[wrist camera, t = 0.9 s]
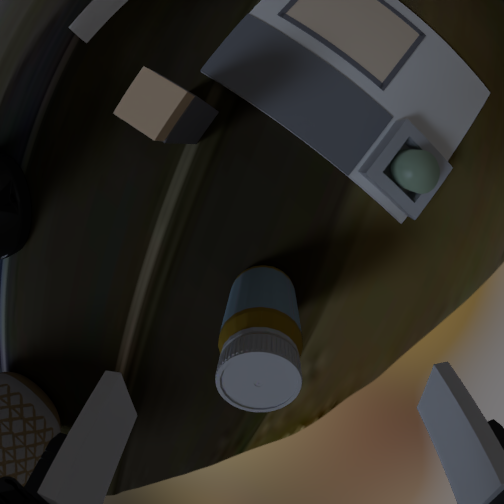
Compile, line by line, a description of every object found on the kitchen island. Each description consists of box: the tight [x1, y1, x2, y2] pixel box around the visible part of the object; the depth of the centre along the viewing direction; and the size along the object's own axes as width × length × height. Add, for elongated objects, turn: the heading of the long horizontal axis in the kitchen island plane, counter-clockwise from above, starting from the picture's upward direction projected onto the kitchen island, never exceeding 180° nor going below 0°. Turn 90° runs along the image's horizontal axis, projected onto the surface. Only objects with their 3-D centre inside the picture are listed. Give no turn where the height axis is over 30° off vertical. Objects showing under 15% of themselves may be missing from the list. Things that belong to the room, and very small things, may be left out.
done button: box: [390, 149, 440, 194], centre depth 25 cm, size 4×4×3 cm
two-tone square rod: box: [113, 66, 219, 144], centre depth 23 cm, size 4×4×12 cm
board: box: [200, 0, 490, 224], centre depth 24 cm, size 26×21×4 cm
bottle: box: [215, 265, 303, 412], centre depth 28 cm, size 7×7×15 cm
